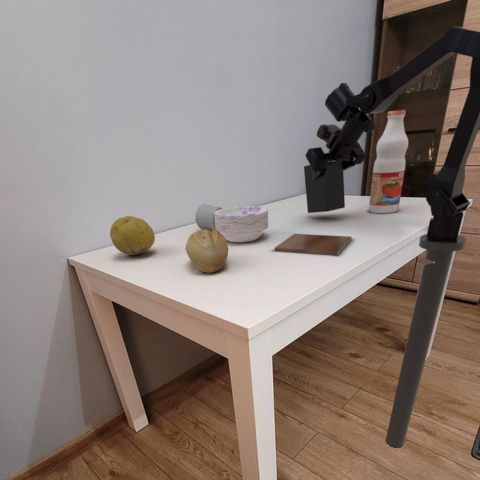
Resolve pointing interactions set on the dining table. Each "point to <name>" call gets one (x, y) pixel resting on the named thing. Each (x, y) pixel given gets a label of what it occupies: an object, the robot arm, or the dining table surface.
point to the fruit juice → (389, 165)
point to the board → (314, 244)
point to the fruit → (132, 235)
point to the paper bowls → (241, 222)
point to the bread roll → (207, 250)
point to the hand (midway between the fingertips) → (322, 177)
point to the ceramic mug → (206, 216)
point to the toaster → (325, 188)
